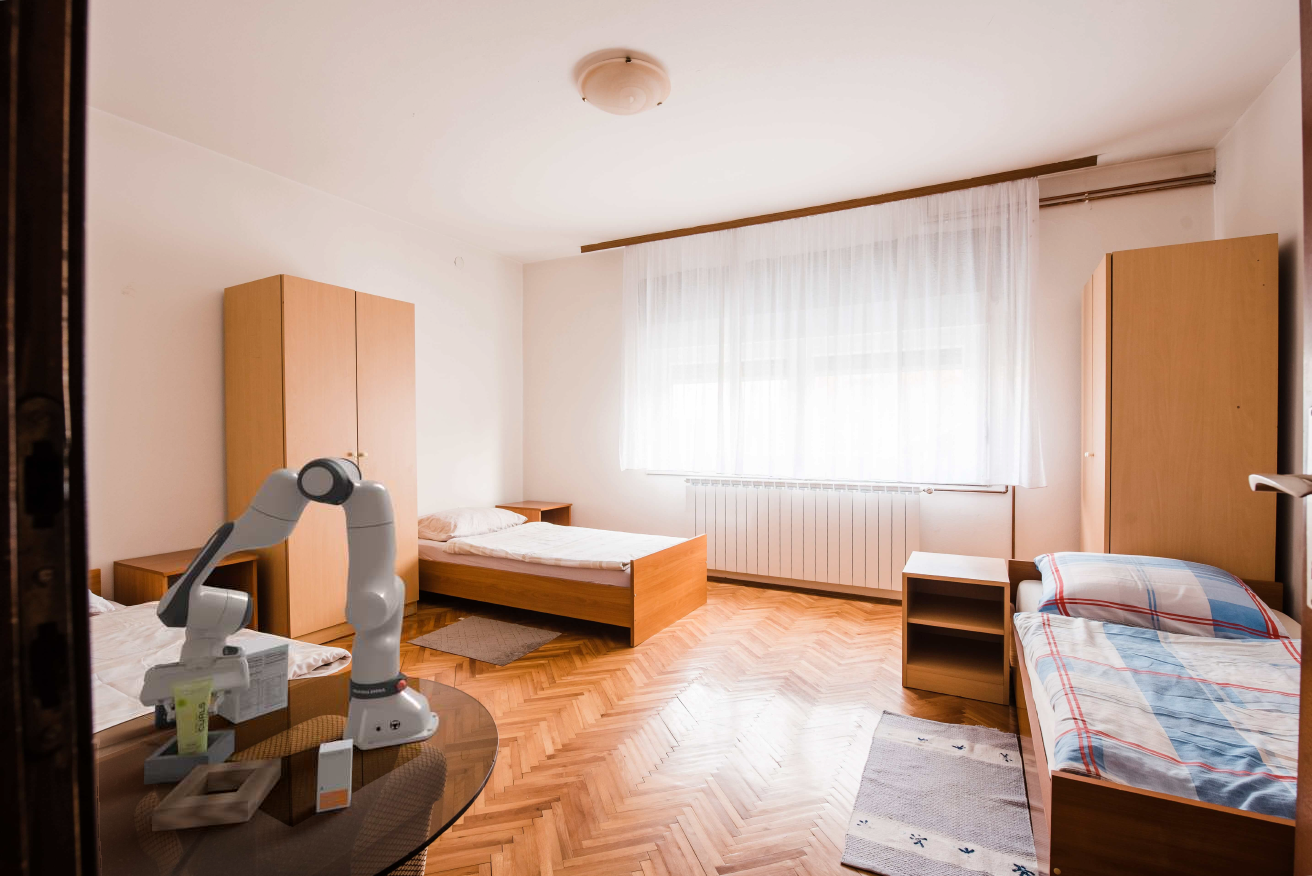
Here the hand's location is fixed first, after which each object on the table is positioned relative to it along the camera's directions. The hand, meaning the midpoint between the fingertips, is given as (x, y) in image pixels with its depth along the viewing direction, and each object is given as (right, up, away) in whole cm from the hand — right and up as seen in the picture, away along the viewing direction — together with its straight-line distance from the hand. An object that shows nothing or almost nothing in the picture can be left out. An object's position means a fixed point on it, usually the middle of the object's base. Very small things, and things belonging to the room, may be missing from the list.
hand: (192, 717), depth 134 cm
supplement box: (-7, -12, +30) cm, 33 cm away
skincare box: (+39, -12, -13) cm, 43 cm away
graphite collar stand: (0, -11, 0) cm, 11 cm away
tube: (0, -12, 0) cm, 12 cm away
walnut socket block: (+16, -11, -12) cm, 23 cm away
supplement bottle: (-21, -12, +20) cm, 32 cm away
